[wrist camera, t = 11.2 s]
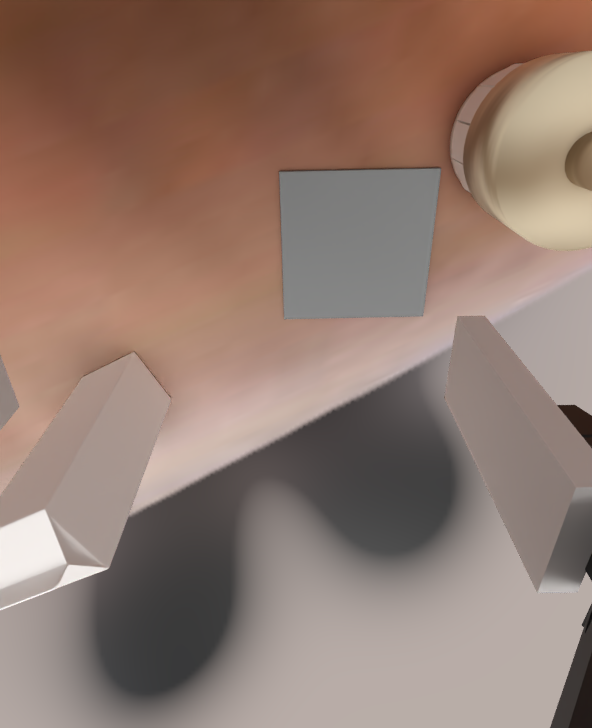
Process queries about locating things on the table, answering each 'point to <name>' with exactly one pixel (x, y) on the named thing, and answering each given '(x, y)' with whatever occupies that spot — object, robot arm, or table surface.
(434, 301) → the table surface
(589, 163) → the beige round piece
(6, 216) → the table surface
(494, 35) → the table surface
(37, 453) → the milk
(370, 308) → the mat
